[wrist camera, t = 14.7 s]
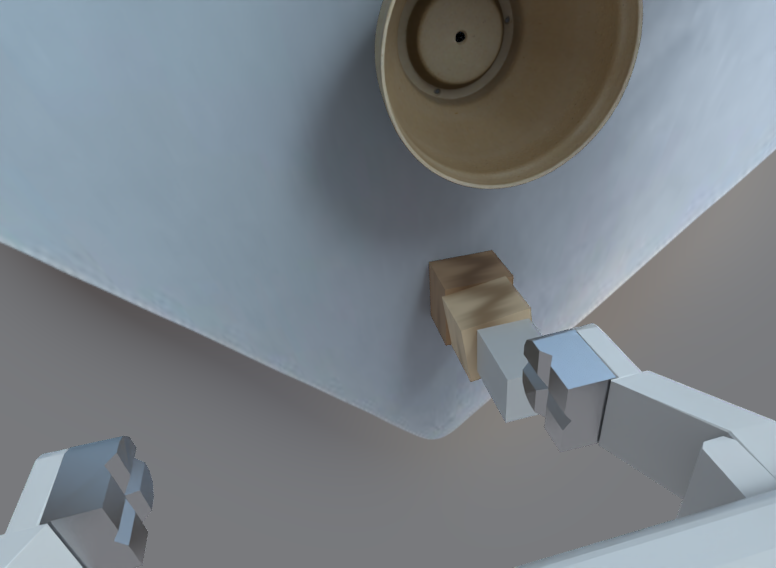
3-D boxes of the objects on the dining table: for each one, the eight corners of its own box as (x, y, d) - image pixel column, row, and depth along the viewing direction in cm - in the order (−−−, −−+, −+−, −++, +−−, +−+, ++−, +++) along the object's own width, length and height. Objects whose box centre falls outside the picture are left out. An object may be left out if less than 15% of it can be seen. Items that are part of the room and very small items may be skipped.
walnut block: (491, 249, 51) (513, 276, 47) (489, 302, 54) (509, 332, 50) (428, 261, 50) (445, 289, 46) (430, 314, 53) (446, 345, 49)
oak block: (505, 276, 46) (530, 307, 42) (511, 326, 50) (535, 360, 46) (441, 296, 46) (461, 331, 42) (452, 346, 49) (470, 382, 45)
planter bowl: (564, 98, 44) (645, 137, 35) (385, 167, 44) (422, 224, 35) (542, -136, 35) (645, -165, 26) (315, -51, 34) (340, -51, 25)
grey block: (529, 318, 43) (565, 366, 38) (526, 358, 45) (560, 409, 40) (477, 329, 42) (507, 380, 37) (476, 370, 45) (505, 422, 40)
